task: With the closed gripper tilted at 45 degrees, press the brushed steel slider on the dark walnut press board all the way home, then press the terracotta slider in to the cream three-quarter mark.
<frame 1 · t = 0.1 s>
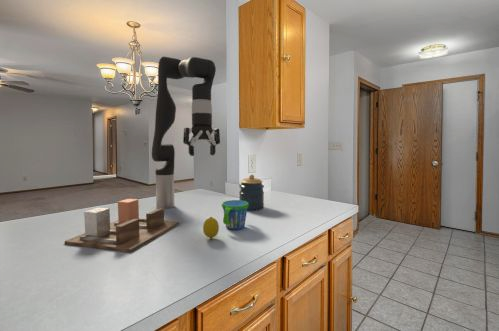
hand: (202, 155, 104), 29 cm above the counter, tool pointing down, fingers open, 8 cm apart
press board: (128, 233, 102), on the counter
steel slider: (97, 222, 96), point 6 cm above the counter, slide at 0.0 cm
canister: (251, 208, 142), on the counter
snack cup: (235, 227, 110), on the counter
lemon: (211, 239, 97), on the counter
terracotta slider: (128, 211, 111), point 6 cm above the counter, slide at 0.0 cm
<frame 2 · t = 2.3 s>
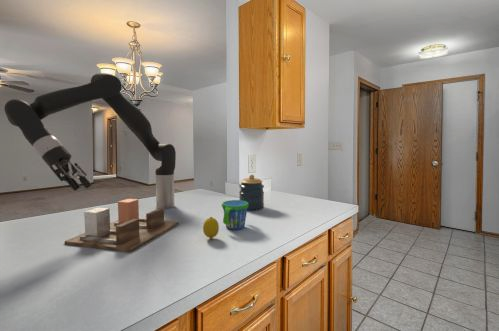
hand: (83, 187, 95), 18 cm above the counter, tool tilted 40°, fingers open, 8 cm apart
nothing on the counter moved.
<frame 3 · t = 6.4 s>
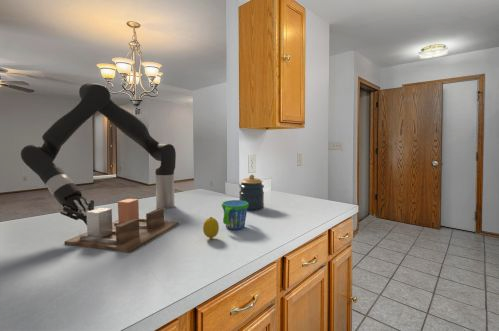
hand: (92, 225, 96), 5 cm above the counter, tool tilted 45°, fingers closed
steel slider: (99, 222, 95), point 6 cm above the counter, slide at 0.9 cm, touching gripper
everything else where it was.
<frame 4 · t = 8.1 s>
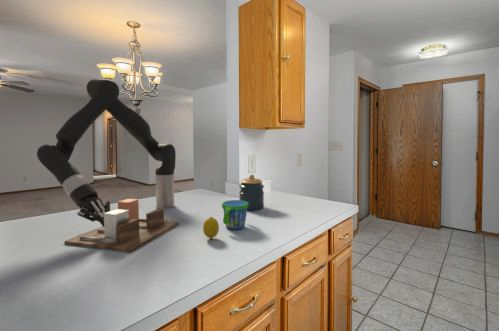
hand: (109, 226, 94), 5 cm above the counter, tool tilted 45°, fingers closed
steel slider: (116, 224, 94), point 6 cm above the counter, slide at 8.1 cm, touching gripper
everything else where it was.
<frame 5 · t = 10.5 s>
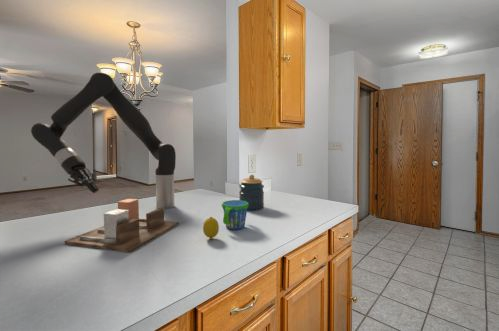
hand: (96, 191, 111), 14 cm above the counter, tool tilted 45°, fingers closed
steel slider: (116, 224, 94), point 6 cm above the counter, slide at 8.0 cm
everything else where it was.
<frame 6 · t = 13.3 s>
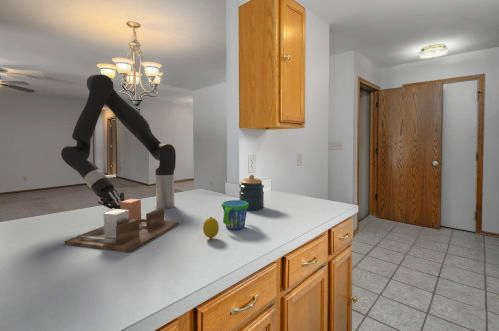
hand: (124, 213, 112), 5 cm above the counter, tool tilted 45°, fingers closed
terracotta slider: (130, 211, 111), point 6 cm above the counter, slide at 1.1 cm, touching gripper
everything else where it was.
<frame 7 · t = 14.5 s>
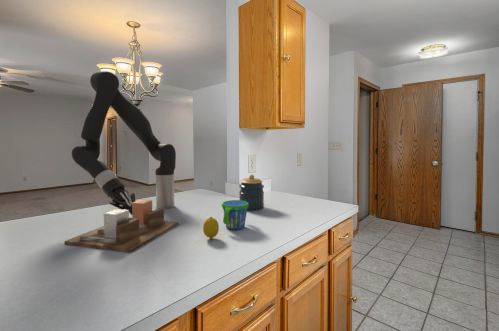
hand: (136, 214, 110), 5 cm above the counter, tool tilted 45°, fingers closed
terracotta slider: (142, 212, 109), point 6 cm above the counter, slide at 6.6 cm, touching gripper
everything else where it was.
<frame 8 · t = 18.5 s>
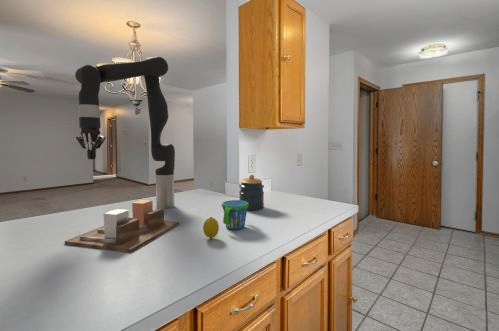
hand: (91, 159, 112), 27 cm above the counter, tool pointing down, fingers closed
terracotta slider: (142, 212, 109), point 6 cm above the counter, slide at 6.7 cm
everything else where it was.
at the end: steel slider slide at 8.0 cm; terracotta slider slide at 6.7 cm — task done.
